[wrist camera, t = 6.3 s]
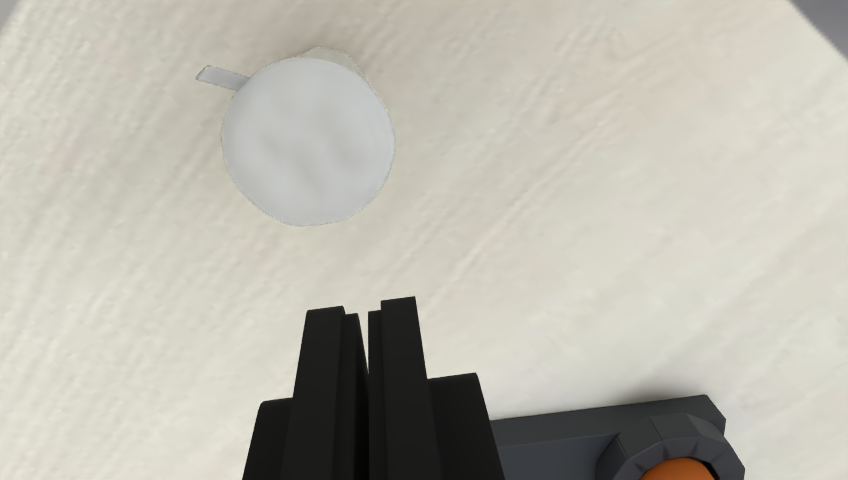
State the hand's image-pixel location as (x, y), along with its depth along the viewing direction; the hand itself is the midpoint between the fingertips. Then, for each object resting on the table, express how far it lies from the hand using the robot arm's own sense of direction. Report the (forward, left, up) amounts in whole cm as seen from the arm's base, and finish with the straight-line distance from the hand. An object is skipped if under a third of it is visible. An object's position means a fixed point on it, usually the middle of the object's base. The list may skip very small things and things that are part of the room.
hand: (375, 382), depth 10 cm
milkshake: (+2, -2, -17) cm, 17 cm away
